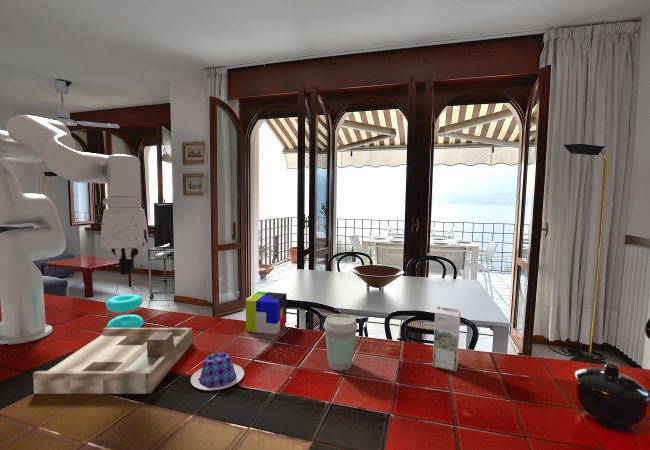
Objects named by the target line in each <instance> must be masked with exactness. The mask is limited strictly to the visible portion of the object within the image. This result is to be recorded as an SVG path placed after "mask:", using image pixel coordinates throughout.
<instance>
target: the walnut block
mask: <svg viewBox="0 0 650 450" xmlns="http://www.w3.org/2000/svg"><path fill="white" fill-rule="evenodd" d="M173 344H174V341H173V332H155V333H154V334H153V335H152V336H150V337H149V338H148V339H147V358H160V357H161V356H162V355H163V354H164V353H165V352H166V351H167V350H168V349H169V348H170V347H171V346H172V345H173Z"/></svg>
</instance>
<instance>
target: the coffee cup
mask: <svg viewBox="0 0 650 450" xmlns="http://www.w3.org/2000/svg"><path fill="white" fill-rule="evenodd" d="M358 328H359V327H358V323H357V319H356V318H355V317H354V316H352V315H350V314H344V313H335V314H331V315H328V316H326V318H325V321H324V323H323V329H324V333H325V334H324V335H325V343H326V344H325V345H326V351H327V354H326V355H327V361H328V367H329V368H330V369H332V370H335V371H347V370H349V369H350V368H351V367H352V365H353V363H352V362H353V357H354V356H353V355H354V349H355V341H356V334H357V330H358Z"/></svg>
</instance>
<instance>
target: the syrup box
mask: <svg viewBox="0 0 650 450" xmlns="http://www.w3.org/2000/svg"><path fill="white" fill-rule="evenodd" d="M460 325H461V309H460V308H454V307H447V306H440V305H438V306H437V307H436V309H435V312H434V330H433V332H434V333H433V350H432V351H433V353H432V355H433V356H432V357H433V358H432V367H433V368H437V369H440V370H445V371H449V372H457V368H458V365H459V364H458V363H459V343H460V328H461V327H460Z"/></svg>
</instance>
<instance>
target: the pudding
mask: <svg viewBox="0 0 650 450" xmlns="http://www.w3.org/2000/svg"><path fill="white" fill-rule="evenodd" d="M244 377H245V371H244V369H243V368H242V367H241V366H240V365H238V364H235V363H233V361H232V357H231V355H230V354H228V353H226V352H213V353H212V354H208V356H207V355H206V357H205V358H204V361H203V364H202V366H201V368H200V369H198V370H197V371H196V372H194V373H192V376H191V377H190V384H191V385H192V386H193V387H194V388H197V389H199V390H203V391H216V390H222V389H223V390H224V389H227V388H230V387H232V386H234V385H236V384H238V383H239V382H240V381H241V380H242V379H243V378H244ZM199 378H200V379H199ZM198 379H199V380H198ZM209 387H210V388H209Z"/></svg>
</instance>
